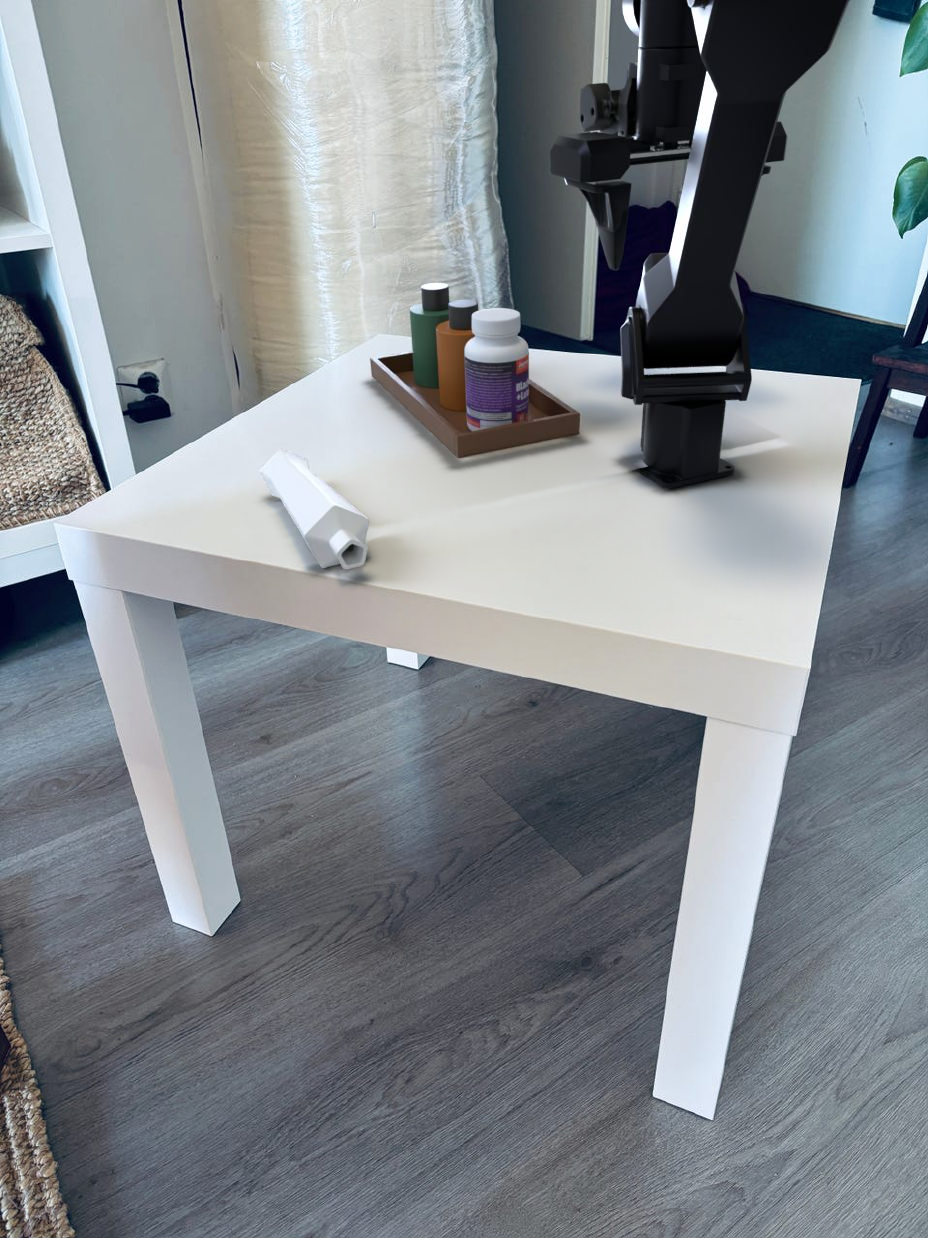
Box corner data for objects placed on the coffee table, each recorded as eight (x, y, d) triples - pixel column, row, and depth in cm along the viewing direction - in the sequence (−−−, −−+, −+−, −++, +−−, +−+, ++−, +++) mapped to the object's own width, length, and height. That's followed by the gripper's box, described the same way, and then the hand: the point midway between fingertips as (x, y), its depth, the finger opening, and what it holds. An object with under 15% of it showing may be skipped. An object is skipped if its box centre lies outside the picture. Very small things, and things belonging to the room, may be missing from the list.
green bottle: (472, 383, 93) (469, 288, 89) (424, 391, 92) (418, 295, 87) (453, 368, 97) (449, 276, 92) (407, 376, 96) (400, 283, 91)
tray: (579, 442, 82) (580, 412, 81) (458, 466, 79) (457, 436, 77) (474, 365, 100) (473, 340, 99) (372, 383, 97) (369, 357, 96)
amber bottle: (502, 405, 88) (500, 305, 83) (452, 415, 86) (447, 314, 82) (481, 389, 92) (478, 292, 87) (432, 398, 90) (426, 300, 85)
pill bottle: (529, 437, 81) (529, 322, 76) (466, 439, 81) (461, 324, 76) (528, 414, 86) (528, 303, 80) (468, 416, 86) (463, 305, 81)
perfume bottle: (323, 481, 76) (396, 562, 64) (275, 509, 75) (340, 596, 64) (299, 433, 73) (370, 509, 62) (248, 461, 72) (311, 543, 61)
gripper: (718, 38, 81) (700, 232, 90) (519, 50, 76) (520, 257, 84) (805, 40, 73) (776, 255, 81) (587, 54, 67) (581, 284, 75)
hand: (661, 262), depth 81 cm, fingers open, 9 cm apart
